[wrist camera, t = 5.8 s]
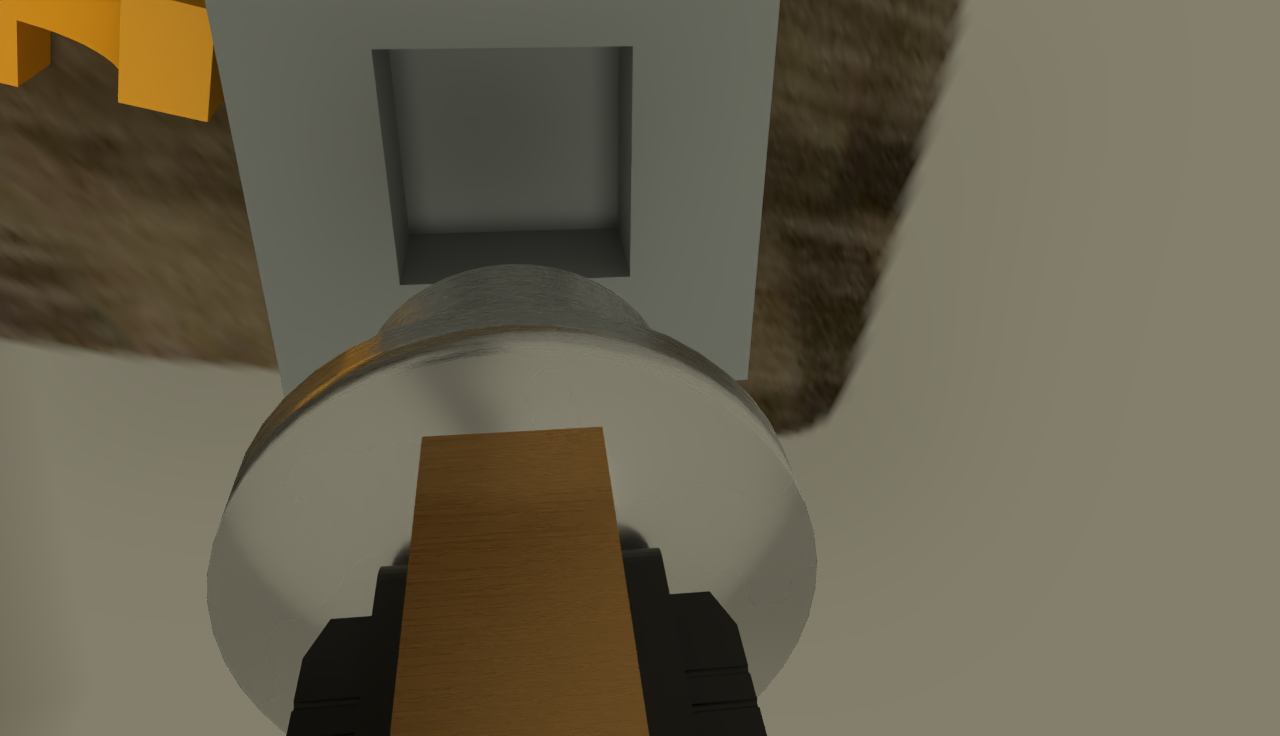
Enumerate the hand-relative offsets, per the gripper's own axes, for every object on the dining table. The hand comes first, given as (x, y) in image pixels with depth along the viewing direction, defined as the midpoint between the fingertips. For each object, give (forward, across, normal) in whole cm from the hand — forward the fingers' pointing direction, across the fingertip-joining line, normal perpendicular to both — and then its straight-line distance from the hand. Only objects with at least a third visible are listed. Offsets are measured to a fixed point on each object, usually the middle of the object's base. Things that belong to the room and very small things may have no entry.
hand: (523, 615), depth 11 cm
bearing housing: (+22, 0, 0) cm, 22 cm away
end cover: (+4, 0, 0) cm, 4 cm away
